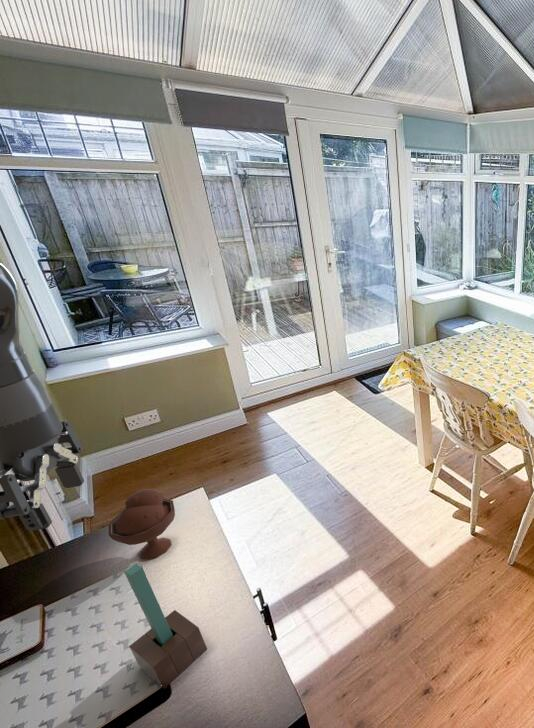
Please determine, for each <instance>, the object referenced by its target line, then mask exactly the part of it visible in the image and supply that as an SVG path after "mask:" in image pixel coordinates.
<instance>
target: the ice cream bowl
mask: <svg viewBox="0 0 534 728" xmlns="http://www.w3.org/2000/svg"><path fill="white" fill-rule="evenodd" d="M124 505H125V507H124V508H123V509H122V510H121V512H119V513H118V514H117V515H116V516H115V517H114V518H113V519H112V520H111V521H110V522H109V523H108V533H107V534H108V536H109V538H110V539H112V541H115V542H117V543H121V544H125V545H128V546H136V545H140V544H144V543H146V544H145V545H144V546H143V547H142V548H141V549H140V551H139V555H140V559H141V560H144V561H145V560H146V561H149V560H152V559H157V558H159V557H160V556H162V555H164V554H166V553H167V552H168V550H169V549H170V548H171V546H172V540H171V539H170V538H167V537H163V536H162V537H159V536H161V535H162V534H163V533H164V532H165V531H166V530H167V529H168V528H169V526H170V525H171V524H172V523H173V521H174V519H175V516H176V510H175V504H174V500H172V499H168V498H165V495H164V494H163V493H162V492H161V491H160V490H159V489H156V488H142V489H139V490H136V491H134V492H133V493H131V494H130V496H128V497H127V499H126V500H125V502H124ZM158 537H159V538H158Z"/></svg>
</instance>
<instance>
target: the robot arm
mask: <svg viewBox="0 0 534 728" xmlns="http://www.w3.org/2000/svg"><path fill="white" fill-rule="evenodd" d="M19 316H20V315H19V293H18V288H17V284H16V281H15V279H14V277H13V276H12V274H11V272H10V271H9V270H8V269H7V268H6V267H5V265H3V264H2V263H1V262H0V520H4V519H7V518H13V517H19V519H20V521H21V523H22V524H23V526H24V528H25V529H26V530H27V531H31V532H34V531H39V530H45V529H48V528H49V527H50V526H51V524H52V523H53V520H52V519H51V517H50V515H49V513H48V511H47V509H46V507H45V506H44V504H43V503H41V501H42V490H43V489H45V488H46V486H47V476H48V475H49V473H50V471H51V470H52V469H54V471H55V473H56V475H57V477H58V479H59V481H60V483H61V485H62V486H63V488H64V489H71V488H76V487H81V486H82V485H83V484H84V483H85V479H84V476H83V475H82V474H83V473H82V472H81V471H80V468H79V466H78V464H77V463H78V462H79V456H78V454H81V453H82V452H83V451H84V450H83V449H84V447H83V445H82V443H81V440H80V439H79V438H78V436H77V434H76V432H75V430H74V428H73V426H72V425H71V422H70V420H61V419H60V417H59V415H58V412H57V410H56V408H55V406H54V404H53V401H52V400H51V397H50V395H49V393H48V391H47V388H46V387H45V385H44V383H43V382H42V380H41V379H40V378H39V376H38V375H37V374H36V371H35V370H34V368H33V366H32V364H31V362H30V360H29V357H28V356H27V353H26V351H25V350H24V347H23V345H22V342H21V341H22V340H21V330H20V318H19ZM66 443H68V444H69V445H70V446H65V444H66ZM31 481H33V482H32V483H31V484H26V485H20V483H21V482H31ZM25 492H27V493H28V492H29V496H28V497H29V499H27V498H26V496H25V494H24V493H25ZM7 503H8V504H7Z"/></svg>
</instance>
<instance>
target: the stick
mask: <svg viewBox="0 0 534 728" xmlns="http://www.w3.org/2000/svg"><path fill="white" fill-rule="evenodd" d="M123 573H124V575H125V577H126V579H127V582H128V583H129V585H130V587H131V589H132V591H133V593H134V596H135V598H136V600H137V601H138V603H139V606H140V608H141V611H142V612H143V614H144V616H145V618H146V620H147V622H148V625H149V627H150V629H152V631H153V633H154V635H155V637H156V639H157V641H158V643H159V645H160V647H161V646H162V645H164V644H165V643H166V642H167V641H168V640H170V639H171V638H172V637H173V634H172V632H171V630H170V628H169V625H168V623H167V621H166V619H165V617H166V616H165V614H164V612H163V610H162V608H161V605H160V603H159V601H158V599H157V596H156V594H155V593H154V589H153V588H152V586H151V584H150V581H149V579H148V577H147V575H146V573H145V570H144V568H143V566H141V565H140V564H138V563H134V564H132V566H130V567H129V568H127V569H125V570H124V571H123Z"/></svg>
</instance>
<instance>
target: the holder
mask: <svg viewBox="0 0 534 728" xmlns="http://www.w3.org/2000/svg"><path fill="white" fill-rule="evenodd" d="M164 617H165V619H166V621H167V623H168V625H169V628H170V630H171V632H172V634H173V637H172V638H171V639H170V640H168V641H167V642H166V643H165V644H164V645H162V646H161V647H160V645H159V643H158V641H157V639H156V637H155V635H154V633H153V631H152V629H151V628H150V629H149V630H148V631H146V632H145V633H144V634H142V635H141V636H140V637H139V638H138V639H136V640H135V641H133V642H132V643H131V644H130V645H129V646H128V647H129V649H130V651H131V653H132V655H133V657H134V658H135V660H136V663H137V664H138V666H139V668H140V669H141V671H143V672H144V673H145V674H146V675H147V676H148V677H150V678H151V679H152V680H153V681H154V682H155V683H157V684H158V685H159V686H160V687H161V688H162V689H163V690H164V689H166V688H167V687H168V686H169V685H170V684H171V683H172V682H173V681H175V680H176V679H177V678H178V677H179V676H180V675H181V674H182V673H184V671H186V669H187V668H189V667H190V666H191V665H192V664H193V663H194V662H195V661H196V660H197V659H199V657H200V656H202V655H203V654H204V653H205V652H206V651H207V650H208V647H207V645H206V642H205V640H204V637H203V635H202V632H201V630H200V627H199V626H197V625H196V624H195V623H193V621H190V619H188V618H187V617H185V616H184V615H182V614H181V613H180V612H178V611H177V610H176V609H174V610H173V611H171V612H170V613H169V614H167V615H166V616H164ZM161 685H162V686H161Z"/></svg>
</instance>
